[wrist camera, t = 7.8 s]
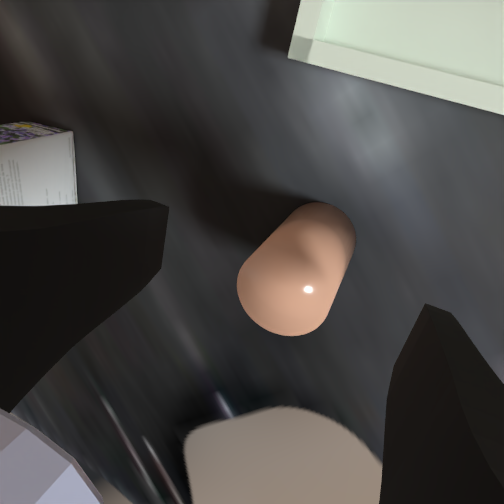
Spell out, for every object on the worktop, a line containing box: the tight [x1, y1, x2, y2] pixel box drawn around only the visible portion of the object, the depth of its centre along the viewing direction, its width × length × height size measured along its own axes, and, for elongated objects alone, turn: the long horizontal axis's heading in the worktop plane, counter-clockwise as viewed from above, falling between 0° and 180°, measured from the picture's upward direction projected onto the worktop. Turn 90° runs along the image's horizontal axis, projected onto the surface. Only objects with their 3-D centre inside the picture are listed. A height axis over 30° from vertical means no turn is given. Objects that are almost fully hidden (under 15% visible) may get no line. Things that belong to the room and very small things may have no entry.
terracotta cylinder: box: [237, 202, 356, 336], centre depth 18 cm, size 4×4×6 cm
